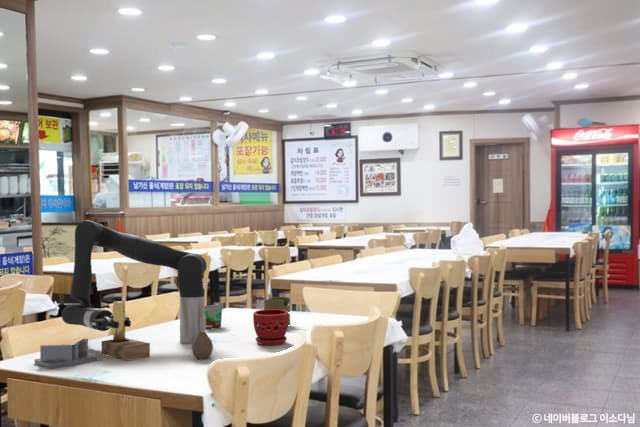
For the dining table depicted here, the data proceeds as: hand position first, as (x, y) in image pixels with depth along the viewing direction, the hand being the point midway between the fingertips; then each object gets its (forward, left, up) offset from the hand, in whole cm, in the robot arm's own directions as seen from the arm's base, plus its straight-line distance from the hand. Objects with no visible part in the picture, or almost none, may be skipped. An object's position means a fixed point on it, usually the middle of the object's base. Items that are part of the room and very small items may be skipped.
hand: (123, 324), depth 233 cm
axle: (+2, -2, -11) cm, 11 cm away
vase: (-28, +7, -11) cm, 31 cm away
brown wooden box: (-1, +1, -11) cm, 11 cm away
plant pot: (-50, -18, -11) cm, 54 cm away
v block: (+16, +11, -11) cm, 22 cm away
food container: (-25, -55, -11) cm, 61 cm away
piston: (-51, -57, -11) cm, 77 cm away
